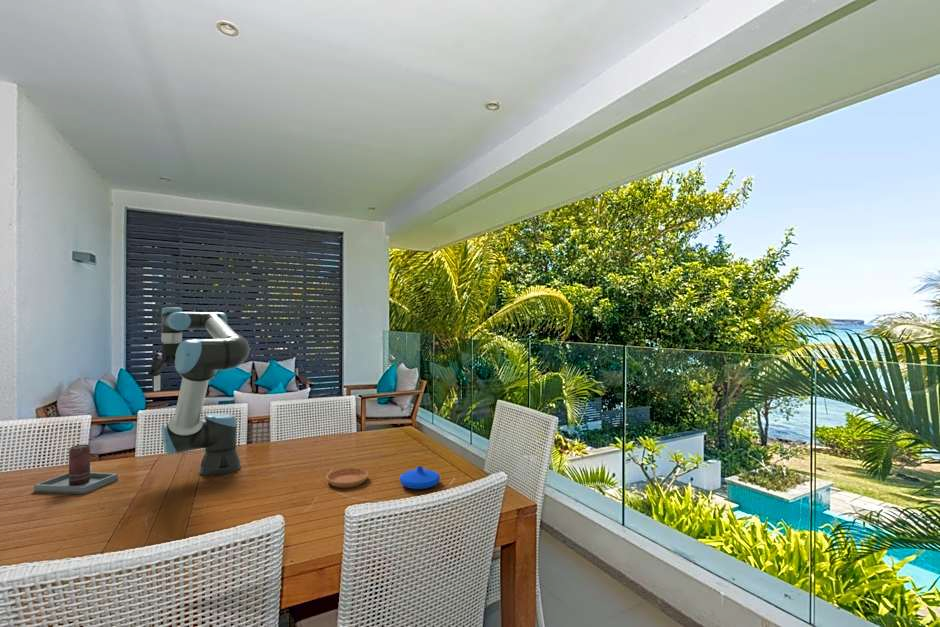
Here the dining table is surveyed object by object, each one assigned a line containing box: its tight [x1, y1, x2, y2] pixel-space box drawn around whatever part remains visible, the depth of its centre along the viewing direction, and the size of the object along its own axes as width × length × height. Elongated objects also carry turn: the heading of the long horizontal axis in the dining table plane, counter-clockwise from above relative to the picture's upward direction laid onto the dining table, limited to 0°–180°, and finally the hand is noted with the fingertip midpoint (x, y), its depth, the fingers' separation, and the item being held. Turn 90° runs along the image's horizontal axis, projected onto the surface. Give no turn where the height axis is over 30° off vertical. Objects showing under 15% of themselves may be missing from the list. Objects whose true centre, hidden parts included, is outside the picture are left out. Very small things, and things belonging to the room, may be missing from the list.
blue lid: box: [399, 465, 441, 490], centre depth 173 cm, size 16×16×7 cm
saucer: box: [326, 467, 369, 489], centre depth 176 cm, size 16×16×3 cm
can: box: [68, 444, 91, 486], centre depth 170 cm, size 6×6×14 cm
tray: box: [33, 471, 119, 495], centre depth 169 cm, size 20×14×2 cm
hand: (171, 391), depth 194 cm, fingers open, 13 cm apart
